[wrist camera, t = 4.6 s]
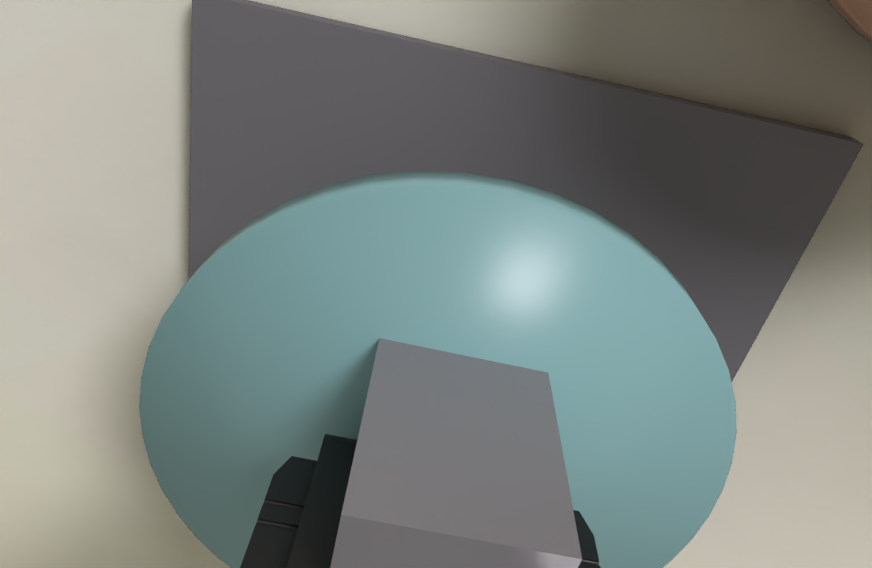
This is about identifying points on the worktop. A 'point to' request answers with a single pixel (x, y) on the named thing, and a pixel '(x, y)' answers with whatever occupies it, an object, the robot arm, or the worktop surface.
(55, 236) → the worktop surface
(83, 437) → the worktop surface
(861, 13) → the bowl
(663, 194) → the mat
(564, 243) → the lid
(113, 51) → the worktop surface
